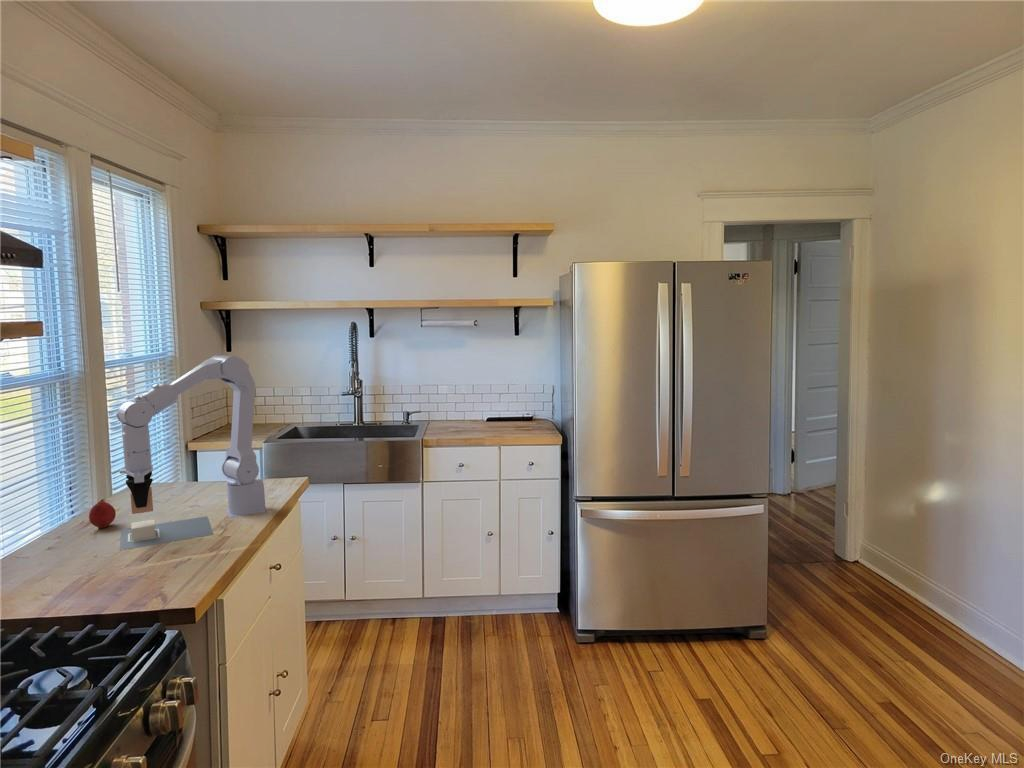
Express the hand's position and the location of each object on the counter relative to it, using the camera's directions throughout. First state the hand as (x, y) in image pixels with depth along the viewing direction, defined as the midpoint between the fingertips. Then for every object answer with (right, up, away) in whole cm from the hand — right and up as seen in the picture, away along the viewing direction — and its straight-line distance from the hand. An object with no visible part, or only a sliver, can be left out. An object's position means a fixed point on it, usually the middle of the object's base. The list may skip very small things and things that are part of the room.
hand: (141, 504), depth 158 cm
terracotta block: (0, -2, 0) cm, 2 cm away
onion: (-14, -8, +8) cm, 18 cm away
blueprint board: (+4, -8, +4) cm, 10 cm away
